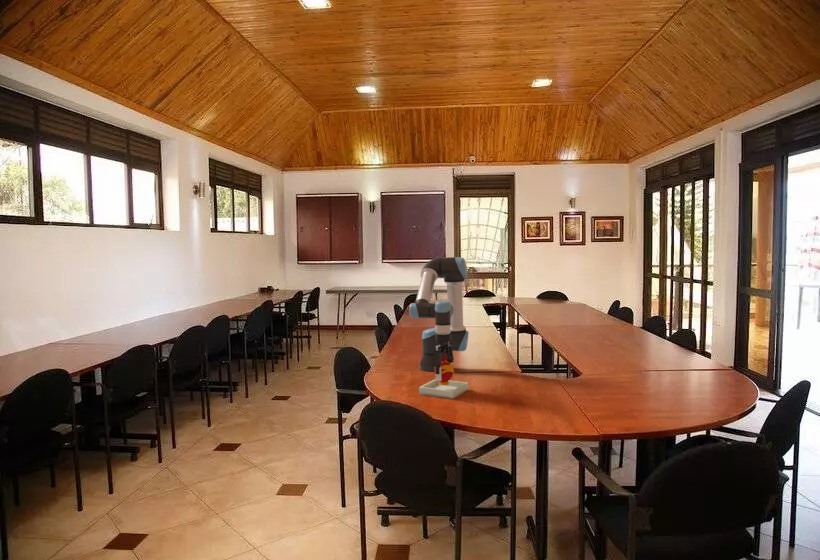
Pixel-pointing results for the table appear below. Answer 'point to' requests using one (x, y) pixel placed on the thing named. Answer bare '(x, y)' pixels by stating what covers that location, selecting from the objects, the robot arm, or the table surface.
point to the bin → (443, 389)
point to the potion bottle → (445, 371)
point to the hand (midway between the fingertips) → (443, 378)
